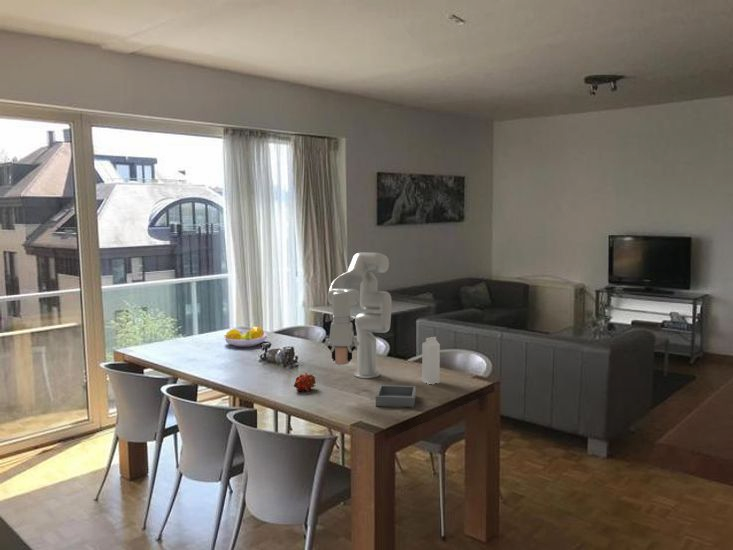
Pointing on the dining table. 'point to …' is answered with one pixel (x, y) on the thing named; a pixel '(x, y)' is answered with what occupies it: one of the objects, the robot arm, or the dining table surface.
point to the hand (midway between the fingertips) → (342, 360)
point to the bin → (396, 396)
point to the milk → (431, 361)
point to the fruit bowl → (245, 337)
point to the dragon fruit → (305, 382)
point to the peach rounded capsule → (341, 355)
